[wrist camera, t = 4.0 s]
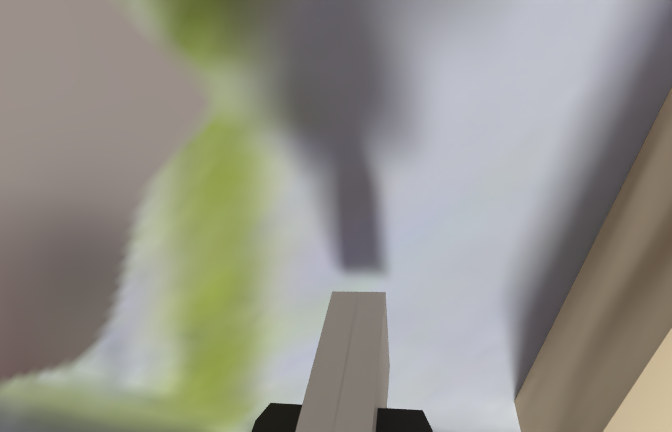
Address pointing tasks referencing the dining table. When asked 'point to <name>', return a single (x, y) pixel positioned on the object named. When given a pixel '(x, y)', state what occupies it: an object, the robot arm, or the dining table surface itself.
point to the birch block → (615, 315)
